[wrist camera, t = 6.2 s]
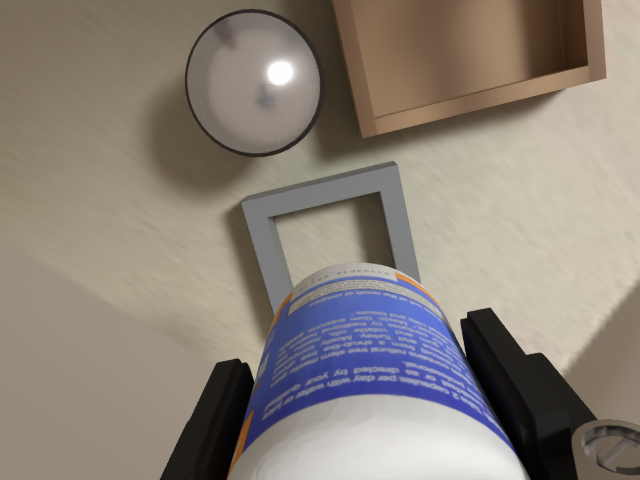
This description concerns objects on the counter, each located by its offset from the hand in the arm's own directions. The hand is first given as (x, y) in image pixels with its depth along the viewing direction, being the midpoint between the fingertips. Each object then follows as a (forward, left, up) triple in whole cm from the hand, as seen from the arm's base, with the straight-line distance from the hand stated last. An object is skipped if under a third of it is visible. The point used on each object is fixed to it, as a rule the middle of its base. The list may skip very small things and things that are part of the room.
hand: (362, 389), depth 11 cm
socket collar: (+1, +1, -17) cm, 17 cm away
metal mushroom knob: (+3, -9, -17) cm, 19 cm away
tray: (-8, -11, -17) cm, 22 cm away
